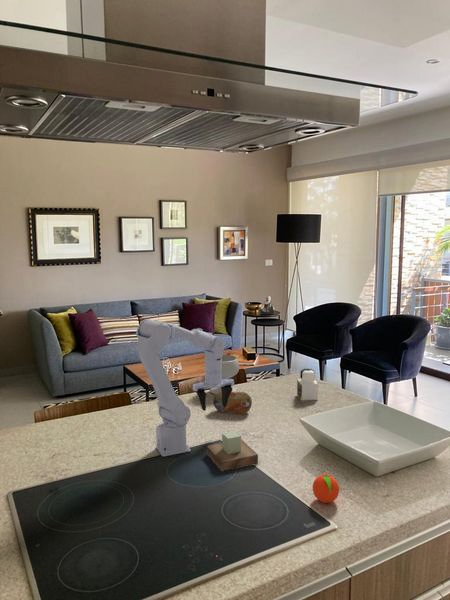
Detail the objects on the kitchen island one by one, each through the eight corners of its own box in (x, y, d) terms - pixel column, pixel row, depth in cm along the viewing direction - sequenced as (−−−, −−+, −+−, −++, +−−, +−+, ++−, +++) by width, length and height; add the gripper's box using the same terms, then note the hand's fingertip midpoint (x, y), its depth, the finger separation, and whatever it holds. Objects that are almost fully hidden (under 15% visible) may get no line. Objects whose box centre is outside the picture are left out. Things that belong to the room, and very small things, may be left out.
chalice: (242, 395, 212) (242, 361, 210) (210, 397, 210) (209, 363, 208) (235, 385, 226) (235, 353, 224) (205, 387, 223) (204, 354, 221)
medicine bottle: (296, 395, 212) (297, 367, 210) (313, 394, 213) (313, 367, 211) (301, 400, 205) (301, 372, 203) (318, 400, 206) (318, 372, 204)
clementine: (343, 509, 127) (344, 483, 126) (317, 511, 126) (317, 485, 125) (334, 493, 135) (335, 468, 134) (309, 494, 134) (309, 469, 133)
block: (228, 454, 151) (227, 438, 151) (222, 448, 155) (222, 433, 155) (241, 451, 153) (240, 436, 152) (235, 445, 157) (235, 430, 156)
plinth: (221, 471, 147) (221, 462, 146) (207, 454, 158) (206, 445, 157) (257, 463, 151) (257, 454, 151) (241, 447, 162) (241, 439, 162)
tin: (213, 411, 194) (212, 391, 193) (215, 409, 197) (215, 388, 196) (250, 415, 190) (250, 394, 189) (252, 412, 193) (252, 391, 192)
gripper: (197, 375, 164) (198, 415, 166) (237, 370, 169) (237, 408, 171) (190, 370, 170) (191, 408, 172) (229, 365, 176) (229, 401, 178)
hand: (214, 407), depth 172 cm, fingers open, 7 cm apart
